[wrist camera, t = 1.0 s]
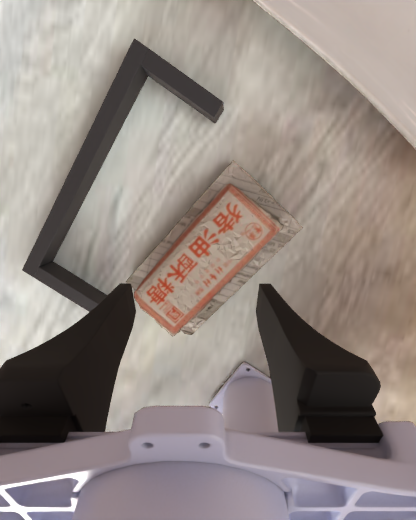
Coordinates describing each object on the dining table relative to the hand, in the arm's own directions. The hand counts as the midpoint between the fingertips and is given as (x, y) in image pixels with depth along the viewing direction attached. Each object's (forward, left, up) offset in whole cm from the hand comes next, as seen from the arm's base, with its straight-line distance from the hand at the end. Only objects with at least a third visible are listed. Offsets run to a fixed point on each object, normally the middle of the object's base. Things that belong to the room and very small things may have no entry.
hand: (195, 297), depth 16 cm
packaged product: (0, +1, -16) cm, 16 cm away
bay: (+11, +1, -16) cm, 19 cm away
